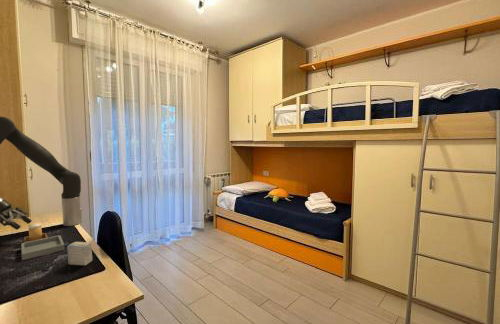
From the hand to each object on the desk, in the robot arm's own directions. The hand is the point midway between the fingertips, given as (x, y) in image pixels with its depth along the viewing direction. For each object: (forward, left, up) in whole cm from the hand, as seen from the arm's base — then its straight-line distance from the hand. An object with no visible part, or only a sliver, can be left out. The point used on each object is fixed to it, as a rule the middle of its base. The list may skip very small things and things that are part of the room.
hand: (24, 225), depth 124 cm
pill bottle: (-4, +2, -9) cm, 10 cm away
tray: (-6, +16, -9) cm, 19 cm away
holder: (-4, +2, -9) cm, 10 cm away
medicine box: (-17, +43, -9) cm, 47 cm away
